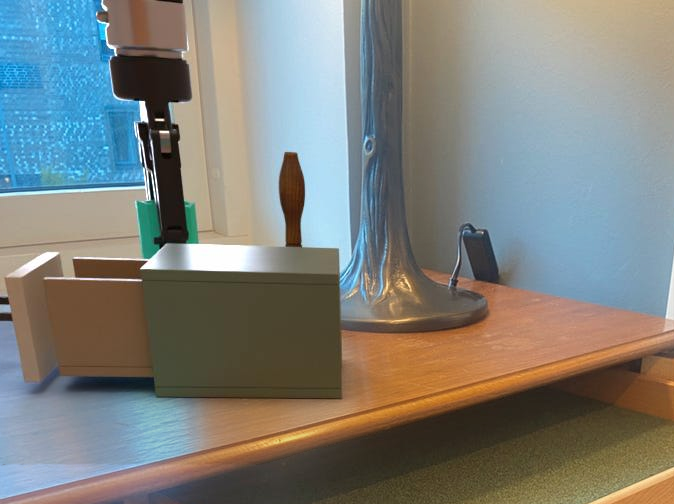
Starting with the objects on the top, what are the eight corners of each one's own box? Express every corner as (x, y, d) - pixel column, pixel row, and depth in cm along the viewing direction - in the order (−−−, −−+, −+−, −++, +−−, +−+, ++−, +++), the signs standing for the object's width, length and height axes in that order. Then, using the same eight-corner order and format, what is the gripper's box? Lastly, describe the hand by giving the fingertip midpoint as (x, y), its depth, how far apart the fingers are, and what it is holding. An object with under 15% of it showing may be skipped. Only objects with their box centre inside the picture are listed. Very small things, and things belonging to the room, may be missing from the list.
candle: (161, 313, 101) (146, 188, 95) (138, 303, 105) (123, 182, 99) (214, 308, 104) (203, 187, 98) (190, 298, 108) (178, 181, 102)
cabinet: (155, 397, 76) (139, 269, 71) (179, 356, 86) (166, 243, 82) (342, 398, 78) (338, 273, 73) (342, 359, 88) (339, 248, 83)
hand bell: (310, 310, 106) (303, 148, 98) (351, 325, 100) (347, 155, 92) (241, 318, 101) (228, 148, 93) (281, 334, 96) (270, 155, 87)
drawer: (-43, 381, 74) (-67, 275, 70) (2, 345, 84) (-17, 250, 80) (202, 384, 76) (192, 281, 72) (218, 349, 86) (210, 256, 82)
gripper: (101, 52, 99) (132, 287, 111) (114, 52, 84) (149, 323, 96) (176, 57, 102) (199, 285, 113) (202, 57, 87) (225, 320, 98)
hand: (176, 302), depth 104 cm, fingers closed on candle, 6 cm apart
